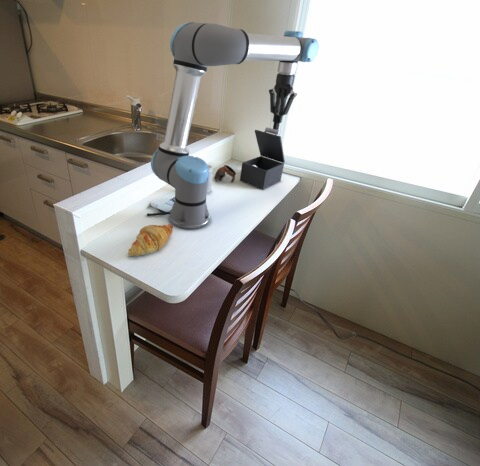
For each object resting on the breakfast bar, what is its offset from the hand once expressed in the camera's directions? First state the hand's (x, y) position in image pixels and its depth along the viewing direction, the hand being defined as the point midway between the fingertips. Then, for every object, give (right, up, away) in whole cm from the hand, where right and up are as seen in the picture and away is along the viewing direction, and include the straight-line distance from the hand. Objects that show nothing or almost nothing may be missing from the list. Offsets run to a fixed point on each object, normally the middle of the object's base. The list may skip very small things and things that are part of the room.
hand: (275, 129), depth 150 cm
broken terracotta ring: (-24, -23, +8) cm, 34 cm away
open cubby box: (-5, -22, +10) cm, 25 cm away
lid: (-2, -8, +3) cm, 8 cm away
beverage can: (-34, -29, -3) cm, 45 cm away
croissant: (-53, -52, -41) cm, 85 cm away
